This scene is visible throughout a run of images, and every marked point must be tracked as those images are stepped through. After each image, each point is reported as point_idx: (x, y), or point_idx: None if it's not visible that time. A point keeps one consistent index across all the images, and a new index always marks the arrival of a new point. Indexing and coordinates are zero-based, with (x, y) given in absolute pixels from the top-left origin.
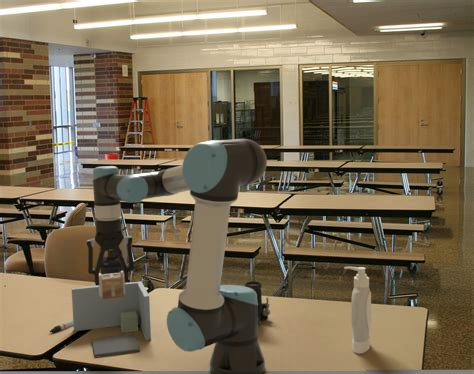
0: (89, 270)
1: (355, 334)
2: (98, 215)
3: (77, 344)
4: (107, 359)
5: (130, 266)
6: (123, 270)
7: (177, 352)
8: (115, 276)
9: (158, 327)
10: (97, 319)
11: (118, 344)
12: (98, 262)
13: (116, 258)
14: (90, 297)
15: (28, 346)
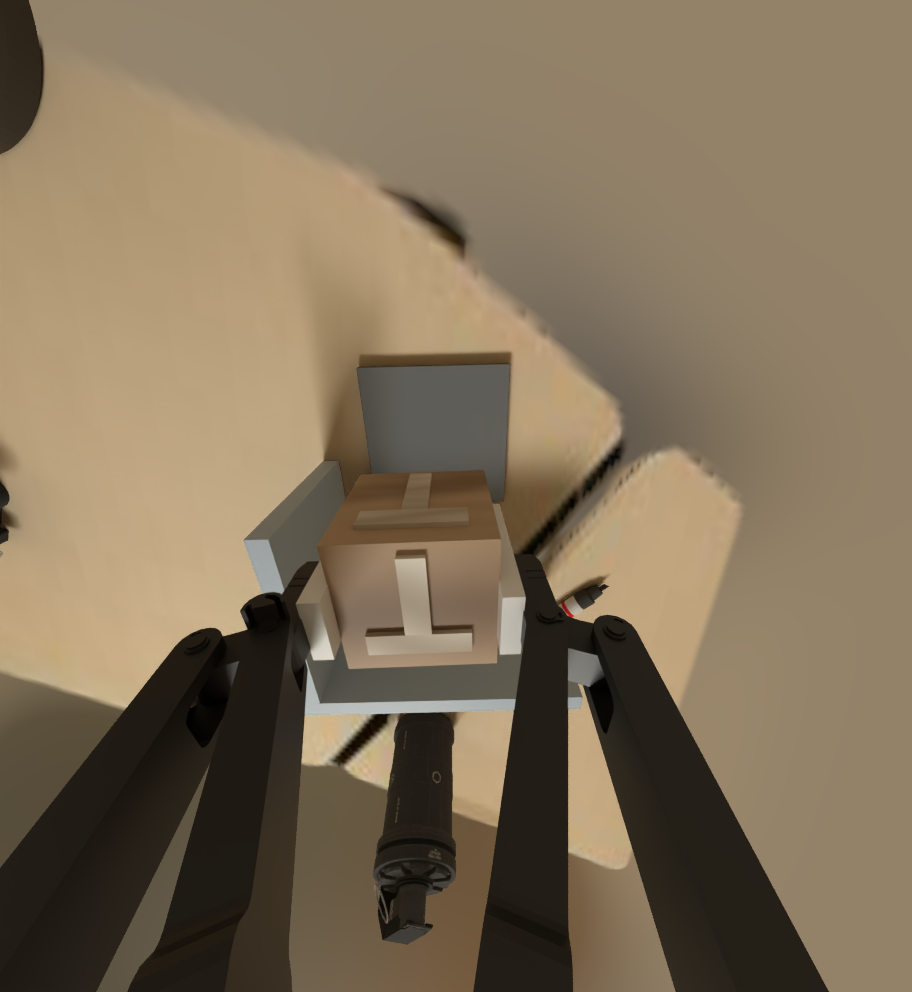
0: (631, 643)
1: None
2: None
3: (545, 488)
4: (469, 328)
5: (201, 656)
6: (302, 645)
7: (220, 312)
8: (382, 588)
9: None
10: None
11: (426, 431)
12: (555, 728)
13: (398, 879)
14: (505, 663)
15: (677, 513)
